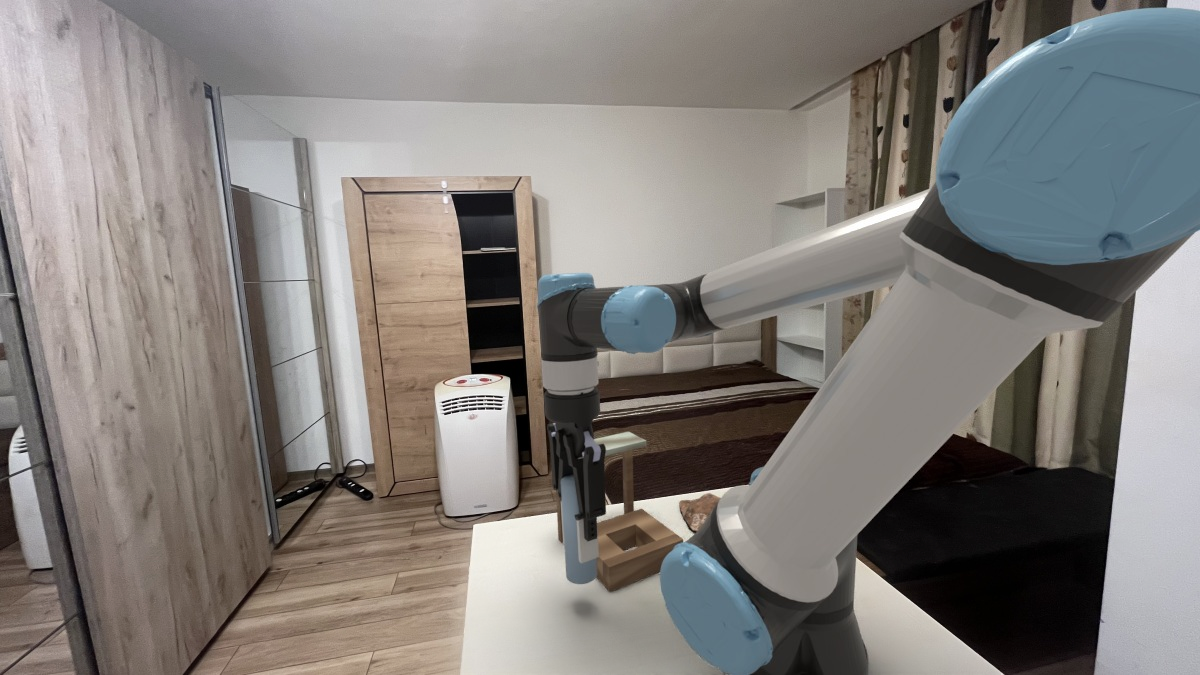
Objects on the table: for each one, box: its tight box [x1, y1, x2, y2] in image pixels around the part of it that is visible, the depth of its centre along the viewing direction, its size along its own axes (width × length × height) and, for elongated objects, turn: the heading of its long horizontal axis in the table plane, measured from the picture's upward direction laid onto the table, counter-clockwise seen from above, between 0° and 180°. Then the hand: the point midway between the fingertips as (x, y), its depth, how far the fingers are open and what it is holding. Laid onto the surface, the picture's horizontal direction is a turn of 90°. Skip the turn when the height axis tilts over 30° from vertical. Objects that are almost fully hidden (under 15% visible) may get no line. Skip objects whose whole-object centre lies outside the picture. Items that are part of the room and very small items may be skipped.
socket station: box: [555, 431, 684, 593], centre depth 80 cm, size 18×16×17 cm
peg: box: [561, 474, 597, 585], centre depth 66 cm, size 4×4×14 cm
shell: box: [678, 492, 721, 535], centre depth 91 cm, size 12×13×4 cm
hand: (580, 549), depth 67 cm, fingers closed on peg, 4 cm apart
